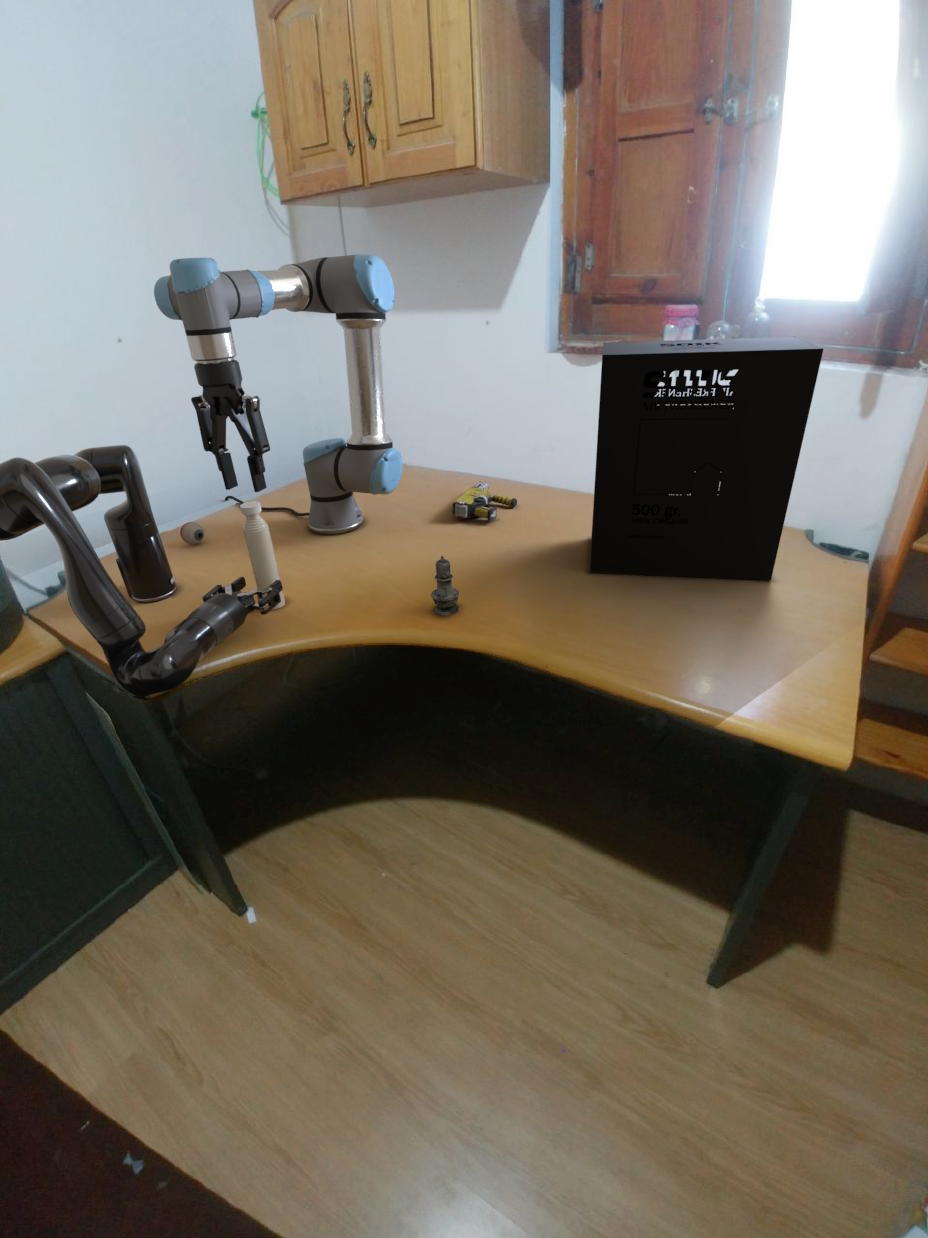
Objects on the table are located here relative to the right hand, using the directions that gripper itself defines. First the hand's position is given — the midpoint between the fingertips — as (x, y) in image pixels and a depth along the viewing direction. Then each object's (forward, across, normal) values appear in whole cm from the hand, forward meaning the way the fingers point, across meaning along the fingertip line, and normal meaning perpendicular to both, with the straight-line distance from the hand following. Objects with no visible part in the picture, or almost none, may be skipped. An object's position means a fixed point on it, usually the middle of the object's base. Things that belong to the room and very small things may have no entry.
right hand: (246, 488), depth 117 cm
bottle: (+26, 0, 0) cm, 26 cm away
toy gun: (+26, -26, -67) cm, 76 cm away
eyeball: (+26, +42, -23) cm, 55 cm away
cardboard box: (+26, -79, -46) cm, 94 cm away
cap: (+4, 0, 0) cm, 4 cm away
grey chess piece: (+26, -37, -8) cm, 46 cm away
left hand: (+19, 0, +2) cm, 19 cm away
